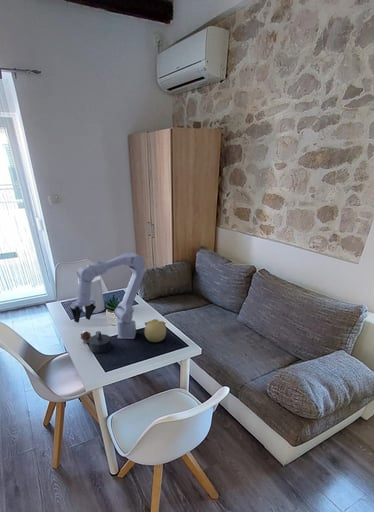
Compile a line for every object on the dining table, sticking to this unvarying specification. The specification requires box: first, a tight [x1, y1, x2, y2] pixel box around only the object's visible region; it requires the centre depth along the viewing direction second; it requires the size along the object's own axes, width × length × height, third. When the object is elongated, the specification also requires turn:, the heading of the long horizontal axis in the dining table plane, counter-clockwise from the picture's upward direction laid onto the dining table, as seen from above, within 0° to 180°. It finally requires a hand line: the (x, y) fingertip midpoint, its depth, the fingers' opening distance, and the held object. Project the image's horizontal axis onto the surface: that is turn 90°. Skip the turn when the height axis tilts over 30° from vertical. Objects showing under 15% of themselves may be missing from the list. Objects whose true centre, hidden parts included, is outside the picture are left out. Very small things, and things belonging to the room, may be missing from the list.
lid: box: [88, 330, 112, 346], centre depth 155 cm, size 11×11×5 cm
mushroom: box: [80, 330, 92, 344], centre depth 162 cm, size 5×5×6 cm
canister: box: [76, 275, 106, 314], centre depth 194 cm, size 14×14×20 cm
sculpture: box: [144, 318, 167, 343], centre depth 165 cm, size 12×12×11 cm
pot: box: [89, 341, 112, 354], centre depth 158 cm, size 10×10×5 cm
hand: (82, 320), depth 151 cm, fingers open, 7 cm apart
